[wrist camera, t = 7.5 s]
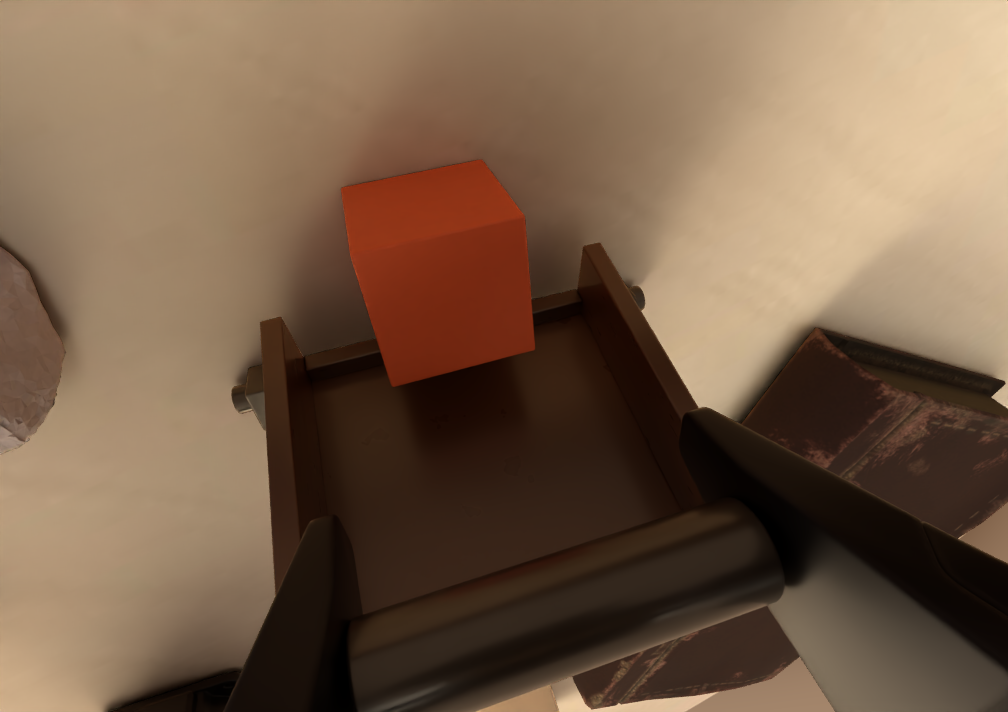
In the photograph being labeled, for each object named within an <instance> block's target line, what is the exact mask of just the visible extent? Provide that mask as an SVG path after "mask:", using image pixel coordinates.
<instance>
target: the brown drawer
mask: <svg viewBox="0 0 1008 712" xmlns="http://www.w3.org/2000/svg"><path fill="white" fill-rule="evenodd" d="M531 301H532V314H533V326H534V339H535V350H533V351H529V352H525V353H521V354H518V355H514V356H510V357H506V358H502V359H499V360H495V361H491V362H487V363H483V364H480V365H476V366H472V367H468V368H464V369H460V370H457V371H453V372H449V373H445V374H441V375H438V376H434V377H430V378H426V379H422V380H419V381H415V382H411V383H407V384H403V385H399V386H396V387H392V386H391V383H390V380H389V377H388V374H387V371H386V367H385V364H384V361H383V358H382V355H381V352H380V348H379V345H378V342H377V339H376V338H375V339H371V340H367V341H363V342H359V343H355V344H351V345H347V346H343V347H339V348H335V349H331V350H327V351H323V352H319V353H315V354H310V355H306V356H305V357H303V355H302V353H301V352H300V350H299V348H298V346H297V344H296V343H295V341H294V339H293V337H292V335H291V334H290V332H289V330H288V328H287V326H286V325H285V323H284V321H283V319H282V318H281V317H277V318H273V319H269V320H265V321H261V322H260V332H261V350H262V367H263V385H264V403H265V421H266V438H267V456H268V474H269V492H270V509H271V527H272V545H273V563H274V580H275V596H276V594H277V592H278V589H279V587H280V585H281V583H282V581H283V578H284V576H285V574H286V572H287V570H288V567H289V565H290V563H291V561H292V559H293V556H294V554H295V552H296V550H297V548H298V545H299V543H300V541H301V539H302V537H303V534H304V532H305V530H306V528H307V526H308V524H309V523H310V522H311V521H312V520H314V519H317V518H320V517H324V516H327V515H331V514H335V515H337V516H338V517H339V519H340V521H341V523H342V525H343V527H344V529H345V531H346V533H347V535H348V537H349V539H350V542H351V545H352V548H353V552H354V558H355V565H356V571H357V578H358V585H359V591H360V598H361V605H362V611H363V615H360V616H357V617H354V618H353V619H352V620H351V621H350V622H349V624H348V628H347V634H346V665H347V675H348V683H349V689H350V695H351V700H352V705H353V709H354V712H476V711H478V710H481V709H484V708H487V707H489V706H492V705H495V704H498V703H500V702H503V701H506V700H509V699H511V698H514V697H517V696H520V695H522V694H525V693H528V692H531V691H533V690H536V689H539V688H542V687H544V686H547V685H550V684H553V683H555V682H558V681H561V680H564V679H566V678H569V677H572V676H575V675H577V674H580V673H583V672H586V671H588V670H591V669H594V668H597V667H599V666H602V665H605V664H608V663H610V662H613V661H616V660H619V659H621V658H624V657H627V656H630V655H632V654H635V653H638V652H641V651H643V650H646V649H649V648H652V647H654V646H657V645H660V644H663V643H665V642H668V641H671V640H674V639H676V638H679V637H682V636H685V635H687V634H690V633H693V632H696V631H698V630H701V629H704V628H707V627H709V626H712V625H715V624H718V623H720V622H723V621H726V620H729V619H731V618H734V617H737V616H740V615H742V614H745V613H748V612H751V611H753V610H756V609H759V608H762V607H764V606H767V605H770V604H773V603H775V602H777V601H778V600H779V599H780V598H781V597H782V595H783V593H784V588H785V577H784V571H783V566H782V562H781V559H780V556H779V553H778V551H777V548H776V546H775V544H774V542H773V540H772V538H771V536H770V534H769V532H768V531H767V529H766V528H765V526H764V524H763V523H762V522H761V520H760V519H759V518H758V516H757V515H756V514H755V513H754V512H753V511H752V510H751V509H750V508H749V507H748V506H747V505H746V504H745V503H743V502H742V501H740V500H738V499H736V498H732V497H724V498H721V499H718V500H714V501H711V502H708V503H705V502H704V500H703V498H702V496H701V494H700V492H699V490H698V488H697V486H696V484H695V482H694V480H693V478H692V476H691V474H690V472H689V470H688V468H687V466H686V464H685V462H684V460H683V458H682V456H681V454H680V451H679V436H680V430H681V423H682V417H683V415H684V414H685V413H686V412H688V411H691V410H695V409H698V406H697V404H696V403H695V401H694V399H693V398H692V396H691V394H690V393H689V391H688V389H687V388H686V386H685V384H684V383H683V381H682V379H681V378H680V376H679V374H678V372H677V371H676V369H675V367H674V366H673V364H672V362H671V361H670V359H669V357H668V356H667V354H666V352H665V351H664V349H663V347H662V346H661V344H660V342H659V341H658V339H657V337H656V335H655V334H654V332H653V330H652V329H651V327H650V325H649V324H648V322H647V320H646V319H645V317H644V315H643V314H642V312H641V310H640V309H639V307H638V305H637V303H636V302H635V300H634V298H633V297H632V295H631V293H630V292H629V290H628V288H627V287H626V285H625V283H624V282H623V280H622V278H621V277H620V275H619V273H618V272H617V270H616V268H615V266H614V265H613V263H612V261H611V260H610V258H609V256H608V255H607V253H606V251H605V250H604V248H603V246H602V245H601V243H594V244H590V245H586V246H583V250H582V258H581V266H580V273H579V281H578V289H577V290H576V289H574V290H570V291H565V292H561V293H557V294H553V295H549V296H545V297H541V298H537V299H533V300H531Z"/></svg>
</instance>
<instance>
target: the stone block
mask: <svg viewBox="0 0 1008 712" xmlns="http://www.w3.org/2000/svg"><path fill="white" fill-rule="evenodd" d="M65 353H66V352H65V349H64V347H63V344H62V342H61V339H60V337H59V335H58V334H57V332H56V331H55V329H54V327H53V326H52V323H51V321H50V319H49V316H48V314H47V312H46V311H45V309H44V307H43V305H42V304H41V302H40V299H39V296H38V293H37V291H36V288H35V285H34V283H33V280H32V278H31V275H30V273H29V271H28V270H27V269H26V268H25V267H24V266H23V265H22V264H21V263H20V262H18V261H17V260H16V259H15V258H14V257H13V256H12V255H11V254H10V253H8V252H7V251H6V250H4V249H3V248H2V247H0V455H1V454H3V453H6V452H8V451H11V450H13V449H17V448H19V447H20V446H22V445H23V444H25V442H27V441H29V440H30V439H29V437H30V436H32V435H33V434H34V433H36V431H37V429H38V427H39V426H40V425H41V424H42V423H43V422H44V420H45V418H46V416H47V414H48V412H49V410H50V409H51V408H52V406H53V405H54V400H55V397H56V395H57V393H56V392H57V387H58V384H59V382H60V378H61V370H62V364H61V363H62V361H63V359H64V356H65Z"/></svg>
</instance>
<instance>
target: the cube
mask: <svg viewBox="0 0 1008 712" xmlns="http://www.w3.org/2000/svg"><path fill="white" fill-rule="evenodd" d="M341 193H342V200H343V208H344V215H345V222H346V229H347V236H348V243H349V250H350V257H351V260H352V263H353V266H354V269H355V272H356V276H357V279H358V282H359V285H360V288H361V291H362V295H363V298H364V301H365V304H366V307H367V310H368V314H369V317H370V320H371V323H372V326H373V329H374V333H375V336H376V339H377V342H378V345H379V348H380V352H381V355H382V358H383V361H384V364H385V367H386V371H387V374H388V377H389V380H390V383H391V386H392V387H396V386H399V385H403V384H407V383H411V382H415V381H419V380H422V379H426V378H430V377H434V376H438V375H441V374H445V373H449V372H453V371H457V370H460V369H464V368H468V367H472V366H476V365H480V364H483V363H487V362H491V361H495V360H499V359H502V358H506V357H510V356H514V355H518V354H521V353H525V352H529V351H533V350H535V339H534V326H533V314H532V301H531V288H530V275H529V262H528V249H527V236H526V223H525V216H524V214H523V213H522V212H521V211H520V209H519V208H518V207H517V205H516V204H515V203H514V201H513V200H512V199H511V197H510V196H509V195H508V193H507V192H506V191H505V189H504V188H503V187H502V185H501V184H500V183H499V181H498V180H497V179H496V177H495V176H494V175H493V174H492V172H491V171H490V170H489V168H488V167H487V166H486V164H485V163H484V162H483V160H476V161H471V162H466V163H461V164H456V165H451V166H446V167H441V168H436V169H431V170H426V171H421V172H416V173H412V174H407V175H402V176H397V177H392V178H387V179H382V180H377V181H372V182H367V183H362V184H357V185H352V186H347V187H343V188H341Z"/></svg>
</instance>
